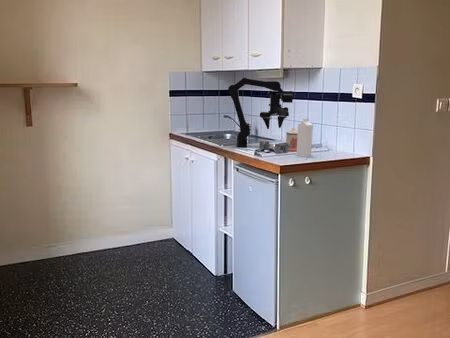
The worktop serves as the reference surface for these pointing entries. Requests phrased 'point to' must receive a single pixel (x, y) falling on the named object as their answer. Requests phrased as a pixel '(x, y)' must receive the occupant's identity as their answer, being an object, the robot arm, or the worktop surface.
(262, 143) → the grey rod with block
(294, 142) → the handwheel
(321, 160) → the worktop surface
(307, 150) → the milk
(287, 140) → the teacup with lid
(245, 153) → the worktop surface
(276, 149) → the eye post
